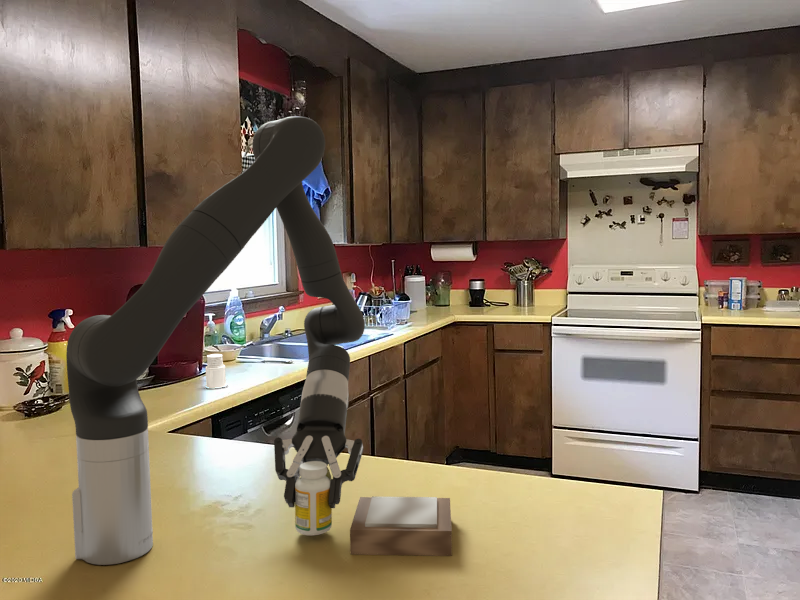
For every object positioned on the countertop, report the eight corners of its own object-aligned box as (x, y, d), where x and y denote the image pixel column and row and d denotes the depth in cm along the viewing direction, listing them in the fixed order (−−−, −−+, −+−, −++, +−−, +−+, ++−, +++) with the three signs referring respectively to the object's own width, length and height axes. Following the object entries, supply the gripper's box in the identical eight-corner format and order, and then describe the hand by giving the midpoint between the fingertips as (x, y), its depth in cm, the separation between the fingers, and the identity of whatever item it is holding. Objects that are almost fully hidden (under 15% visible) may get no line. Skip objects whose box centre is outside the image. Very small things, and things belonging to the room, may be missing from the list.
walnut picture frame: (350, 554, 92) (349, 526, 92) (360, 518, 104) (359, 493, 103) (451, 555, 91) (451, 527, 91) (450, 519, 103) (449, 494, 103)
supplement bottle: (294, 537, 95) (293, 472, 94) (296, 522, 101) (295, 460, 100) (332, 535, 96) (331, 470, 95) (332, 520, 101) (331, 458, 100)
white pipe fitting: (211, 383, 209) (209, 352, 208) (232, 384, 208) (230, 352, 207) (200, 390, 201) (198, 358, 200) (222, 390, 200) (220, 358, 199)
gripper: (275, 391, 104) (256, 494, 93) (366, 392, 104) (358, 495, 93) (284, 416, 110) (267, 515, 99) (370, 417, 109) (362, 517, 98)
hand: (311, 505), depth 96 cm, fingers closed on supplement bottle, 5 cm apart
